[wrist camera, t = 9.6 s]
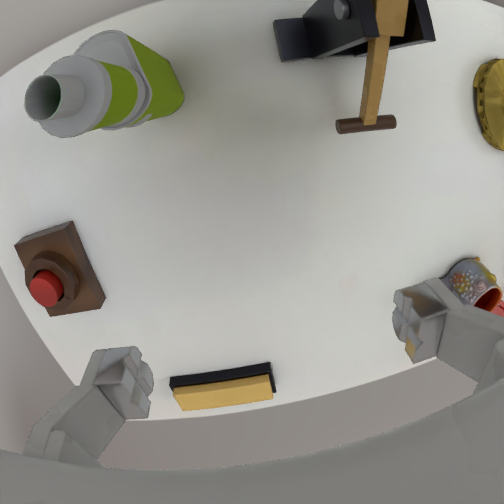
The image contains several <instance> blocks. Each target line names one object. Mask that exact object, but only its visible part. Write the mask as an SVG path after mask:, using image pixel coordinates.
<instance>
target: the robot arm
mask: <svg viewBox="0 0 504 504" xmlns="http://www.w3.org/2000/svg"><path fill="white" fill-rule="evenodd" d="M394 303H395V304H396V306H397V307H396V308H395V310H394V311H393V316H392V322H393V328H394V331H395V333H396V335H397V337H398V339H399V340H400V341H402V342H405V343H406V345H405V351H406V352H407V354H408V356H409V357H410V359H411V361H412V362H413V364H415V363H418V362H421V361H423V360H426V359H429V358H432V357H435V356H436V357H437V358H439V359H440V360H442V361H444V362H445V363H447V364H448V365H450V366H452V367H454V368H455V369H457V370H458V371H460V372H462V373H463V374H465V375H467V376H468V377H470V378H472V379H473V380H475V381H477V382H478V385H477V387H476V388H475V391H474V393H473V395H471V396H469V397H467V398H465V399H463V400H461V401H459V402H457V403H455V404H452V405H450V406H448V407H446V408H444V409H442V410H439V411H437V412H435V413H433V414H430V415H428V416H425V417H423V418H421V419H418V420H416V421H413V422H411V423H408V424H405V425H403V426H400V427H397V428H395V429H392V430H389V431H386V432H383V433H380V434H377V435H375V436H372V437H368V438H365V439H362V440H358V441H355V442H351V443H348V444H344V445H341V446H337V447H334V448H330V449H325V450H321V451H317V452H313V453H308V454H303V455H299V456H294V457H289V458H284V459H278V460H272V461H266V462H260V463H253V464H245V465H236V466H227V467H217V468H204V469H183V470H136V469H117V468H106V467H105V466H104V465H103V464H101V463H100V462H99V461H98V460H97V459H98V458H99V456H100V455H101V454H102V452H103V451H104V450H105V448H106V447H107V446H108V444H109V442H110V441H111V440H112V438H113V437H114V436H115V435H116V433H117V432H118V431H119V429H120V428H121V427H122V425H123V424H124V422H125V420H129V419H144V418H148V415H149V409H150V404H151V401H150V400H149V399H148V396H149V395H150V394H151V393H152V391H153V386H154V381H153V374H152V371H151V369H150V367H149V365H148V364H147V363H145V362H143V361H142V360H141V357H142V354H141V352H140V351H139V349H138V347H135V346H130V347H120V348H110V349H102V350H96V351H94V352H93V353H92V356H91V358H90V361H89V363H88V366H87V368H86V371H85V373H84V376H83V378H82V381H81V383H80V386H75V387H74V388H73V389H72V390H71V391H70V392H69V393H68V394H67V395H66V396H65V397H64V398H63V399H61V400H60V401H59V402H58V403H57V404H56V405H55V406H54V407H53V408H52V409H51V410H50V411H48V412H47V413H46V414H45V415H44V416H43V417H42V418H41V419H40V420H39V421H38V422H37V423H36V424H35V425H33V427H32V430H31V432H30V435H29V438H28V440H27V443H26V446H25V449H24V452H23V454H18V453H13V452H9V451H6V450H2V449H0V504H504V317H502V316H499V315H497V314H494V313H491V312H488V311H486V310H483V309H480V308H477V307H474V306H472V305H469V304H466V305H463V304H462V303H461V301H460V300H459V299H458V298H457V297H456V296H455V295H454V294H453V293H452V292H451V291H450V290H449V289H448V288H447V287H446V285H445V284H444V283H443V282H442V281H441V280H440V279H438V278H433V279H430V280H427V281H424V282H422V283H419V284H416V285H412V286H409V287H406V288H402V289H399V290H396V291H395V294H394Z"/></svg>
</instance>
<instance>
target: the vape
mask: <svg viewBox="0 0 504 504" xmlns="http://www.w3.org/2000/svg"><path fill="white" fill-rule="evenodd" d="M183 101H184V93H183V91H182V88H181V86H180V84H179V82H178V80H177V78H176V76H175V74H174V71H173V69H172V67H171V65H170V63H169V61H168V60H166V59H165V58H163V57H162V56H160V55H159V54H157V53H156V52H154V51H152V50H151V49H149V48H148V47H146V46H144V45H143V44H141V43H140V42H138V41H136V40H135V39H133V38H131V37H130V36H128V35H126V34H125V33H123V32H121V31H117V30H108V31H103V32H100V33H98V34H95V35H94V36H92V37H90V38H89V39H87V40H86V41H85V42H84V43H83V44H82V45H81V46H80V47H79V48H78V49H77V50H76V52H75V53H74V55H72V56H67V57H63V58H61V59H59V60H58V61H56V62H54V63H53V64H52V65H51V66H50V67H49V68H48V69H47V70H46V71H45V72H44V73H43V75H40V76H39V77H37V78H35V79H34V80H33V81H32V82H31V84H30V85H29V87H28V89H27V91H26V95H25V109H26V112H27V114H28V115H29V117H30V118H31V119H33V120H34V121H37V122H39V123H40V125H41V126H42V128H43V129H44V130H46V131H47V132H48V133H49V134H51V135H53V136H56V137H60V138H67V137H75V136H78V135H81V134H83V133H85V132H88V131H91V130H95V129H99V128H100V129H103V130H116V129H120V128H124V127H134V126H138V125H140V124H142V123H144V122H145V121H149V120H152V119H156V118H160V117H164V116H168V115H170V114H172V113H174V112H175V111H176V110H178V109H179V108H180V106H181V105H182V103H183Z"/></svg>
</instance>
